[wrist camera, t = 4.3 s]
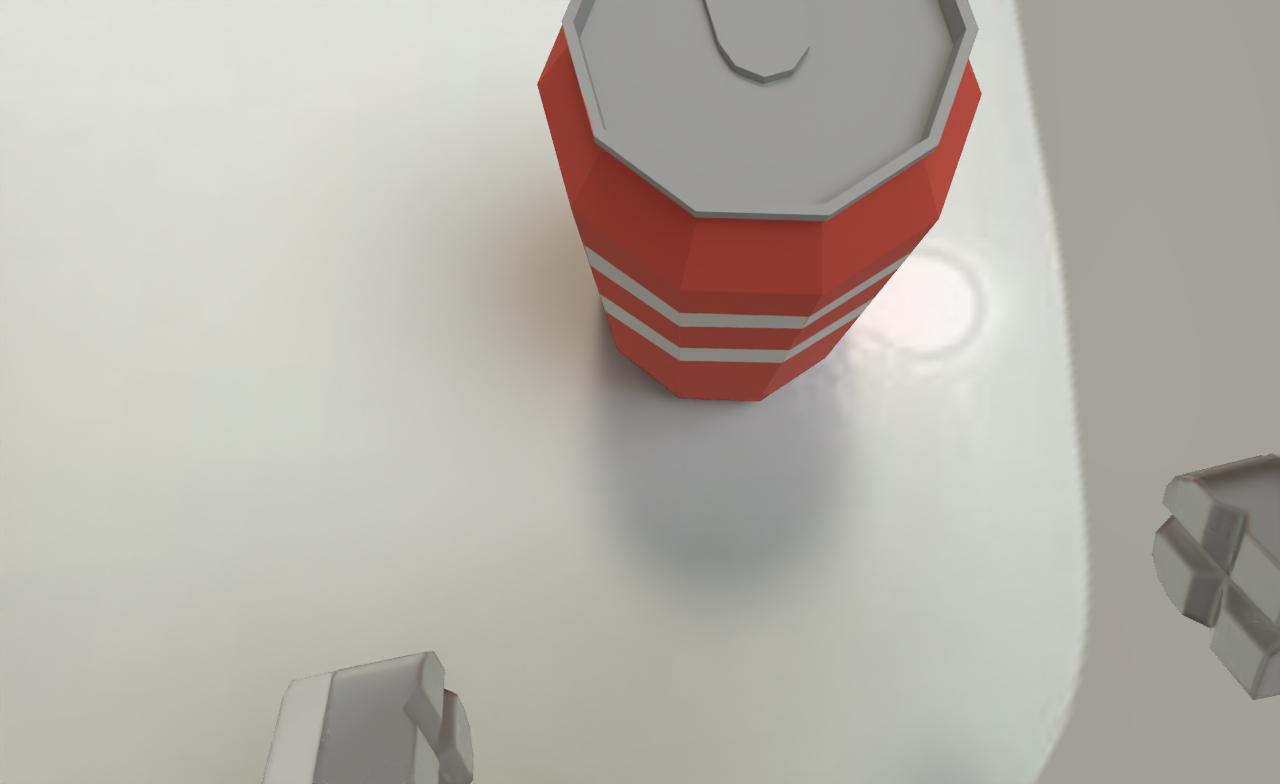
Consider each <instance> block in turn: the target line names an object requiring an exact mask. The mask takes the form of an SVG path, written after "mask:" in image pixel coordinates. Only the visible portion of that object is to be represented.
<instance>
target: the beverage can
mask: <svg viewBox="0 0 1280 784" xmlns="http://www.w3.org/2000/svg"><path fill="white" fill-rule="evenodd" d="M977 32H978V26H977V24H976V21H975V18H974V16H973V13H972V10H971V8H970V5H969V2H968V0H570V3H569V5H568V8H567V10H566V12H565V15H564V17H563V19H562V27H561V29H560V32H559V34H558V36H557V39H556V41H555V43H554V46H553V48H552V51H551V53H550V55H549V58H548V60H547V62H546V65H545V67H544V70H543V72H542V74H541V77H540V79H539V81H538V84H537V85H538V89H539V92H540V96H541V100H542V103H543V107H544V111H545V114H546V118H547V122H548V125H549V129H550V133H551V136H552V140H553V144H554V147H555V151H556V155H557V158H558V162H559V166H560V169H561V173H562V177H563V180H564V184H565V188H566V191H567V195H568V199H569V202H570V206H571V209H572V212H573V215H574V218H575V221H576V224H577V227H578V230H579V233H580V237H581V240H582V243H583V246H584V249H585V252H586V255H587V258H588V261H589V264H590V267H591V270H592V273H593V276H594V279H595V282H596V285H597V288H598V291H599V294H600V297H601V300H602V303H603V306H604V309H605V312H606V315H607V318H608V321H609V324H610V327H611V330H612V333H613V336H614V339H615V342H616V345H617V348H618V350H619V351H620V352H621V353H623V354H624V355H625V356H626V357H628V358H629V359H630V360H632V361H633V362H634V363H635V364H637V365H638V366H639V367H641V368H642V369H643V370H644V371H646V372H647V373H648V374H650V375H651V376H652V377H653V378H655V379H656V380H657V381H658V382H660V383H661V384H662V385H664V386H665V387H666V388H667V389H669V390H670V391H671V392H673V393H674V394H675V395H676V396H678V397H679V398H691V399H716V400H741V401H761V400H762V399H764V398H765V397H767V396H768V395H770V394H771V393H773V392H774V391H776V390H777V389H779V388H780V387H782V386H783V385H785V384H786V383H788V382H789V381H791V380H792V379H794V378H795V377H797V376H798V375H800V374H801V373H803V372H805V371H806V370H808V369H809V368H811V367H812V366H814V365H815V364H817V363H818V362H820V361H821V360H823V359H824V358H826V356H827V355H828V354H829V353H830V351H831V350H832V349H833V348H834V346H835V345H836V344H837V343H838V342H839V340H840V339H841V338H842V337H843V335H844V334H845V333H846V332H847V331H848V329H849V328H850V327H851V326H852V324H853V323H854V322H855V321H856V320H857V318H858V317H859V316H860V315H861V313H862V312H863V311H864V310H865V309H866V307H867V306H868V305H869V304H870V302H871V301H872V300H873V299H874V298H875V296H876V295H877V294H878V293H879V291H880V290H881V289H882V288H883V286H884V285H885V284H886V283H887V282H888V280H889V279H890V278H891V277H892V275H893V274H894V273H895V272H896V271H897V269H898V268H899V267H900V266H901V264H902V263H903V262H904V261H905V260H906V258H907V257H908V256H909V255H910V253H911V252H912V251H913V250H914V249H915V247H916V246H917V245H918V244H919V242H920V241H921V240H922V239H923V237H924V236H925V235H926V234H927V233H928V231H929V230H930V229H931V228H932V226H933V225H934V224H935V223H936V222H937V220H938V219H939V217H940V214H941V211H942V208H943V205H944V203H945V200H946V197H947V194H948V191H949V188H950V185H951V182H952V179H953V176H954V173H955V170H956V167H957V165H958V162H959V159H960V156H961V153H962V150H963V147H964V144H965V141H966V138H967V135H968V132H969V130H970V127H971V124H972V121H973V118H974V115H975V112H976V109H977V106H978V103H979V100H980V97H981V91H980V88H979V86H978V83H977V80H976V77H975V75H974V72H973V69H972V67H971V64H970V61H969V55H970V52H971V49H972V47H973V44H974V41H975V38H976V35H977Z"/></svg>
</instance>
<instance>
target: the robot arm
mask: <svg viewBox="0 0 1280 784" xmlns="http://www.w3.org/2000/svg"><path fill="white" fill-rule="evenodd" d="M1162 503H1163V504H1164V506H1165V507H1166V508H1167V509H1168V510H1169V511H1170V512H1171V513H1172V514H1173V515H1172V516H1171V517H1170V518H1169V519H1168V520H1167V521H1166V522H1165V523H1164V524H1163V525H1162V526H1161V527H1160V528H1159V530H1158V531H1157V532H1156V534H1155V540H1154V547H1153V552H1152V556H1153V559H1154V564H1155V568H1156V572H1157V576H1158V579H1159V581H1160V583H1161V585H1162V586H1163V588H1164V590H1165V592H1166V594H1167V596H1168V597H1169V598H1170V600H1171V601H1172V602H1173V604H1174V605H1175V606H1176V607H1177V608H1178V610H1179V611H1180V612H1181V613H1182V615H1184V616H1186V617H1188V618H1190V619H1193V620H1194V621H1196V622H1199V623H1201V624H1203V625H1205V626H1207V627H1209V628H1210V649H1211V650H1212V651H1213V652H1214V654H1215V655H1216V656H1217V657H1218V658H1219V660H1220V661H1221V662H1222V663H1223V665H1224V666H1225V667H1226V668H1227V669H1228V671H1229V672H1230V673H1231V674H1232V675H1233V677H1234V678H1235V679H1236V680H1237V681H1238V682H1239V684H1240V685H1241V686H1242V687H1243V688H1244V690H1245V691H1246V692H1247V693H1248V695H1249V696H1250V697H1251V698H1252V699H1253V700H1256V699H1261V698H1266V697H1271V696H1276V695H1280V452H1276V453H1272V454H1268V455H1266V456H1262V455H1260V456H1256V457H1252V458H1248V459H1244V460H1240V461H1236V462H1231V463H1227V464H1224V465H1220V466H1215V467H1211V468H1207V469H1203V470H1199V471H1195V472H1191V473H1187V474H1183V475H1179V476H1175V477H1174V479H1173V480H1172V481H1171V482H1170V483H1169V484H1168V485H1167V486H1166V490H1165V494H1164V498H1163V502H1162ZM444 673H445V670H444V668H443V666H442V664H441V663H440V661H439V659H438V657H437V656H436V654H435V652H434V651H432V652H423V653H418V654H413V655H408V656H403V657H399V658H394V659H389V660H384V661H379V662H374V663H369V664H364V665H360V666H355V667H350V668H345V669H340V670H337V671H333V672H328V673H323V674H319V675H314V676H309V677H305V678H300V679H296V680H293V681H292V682H291V684H290V685H289V687H288V688H287V690H286V691H285V693H284V695H283V698H282V702H281V706H280V710H279V714H278V718H277V723H276V727H275V731H274V735H273V739H272V743H271V748H270V752H269V756H268V760H267V764H266V768H265V773H264V777H263V781H262V784H471V782H472V781H473V748H472V740H471V732H470V726H469V723H468V719H467V716H466V713H465V709H464V707H463V705H462V703H461V701H460V699H459V697H458V695H457V694H455V693H453V692H451V691H448V690H446V689H444Z"/></svg>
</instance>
